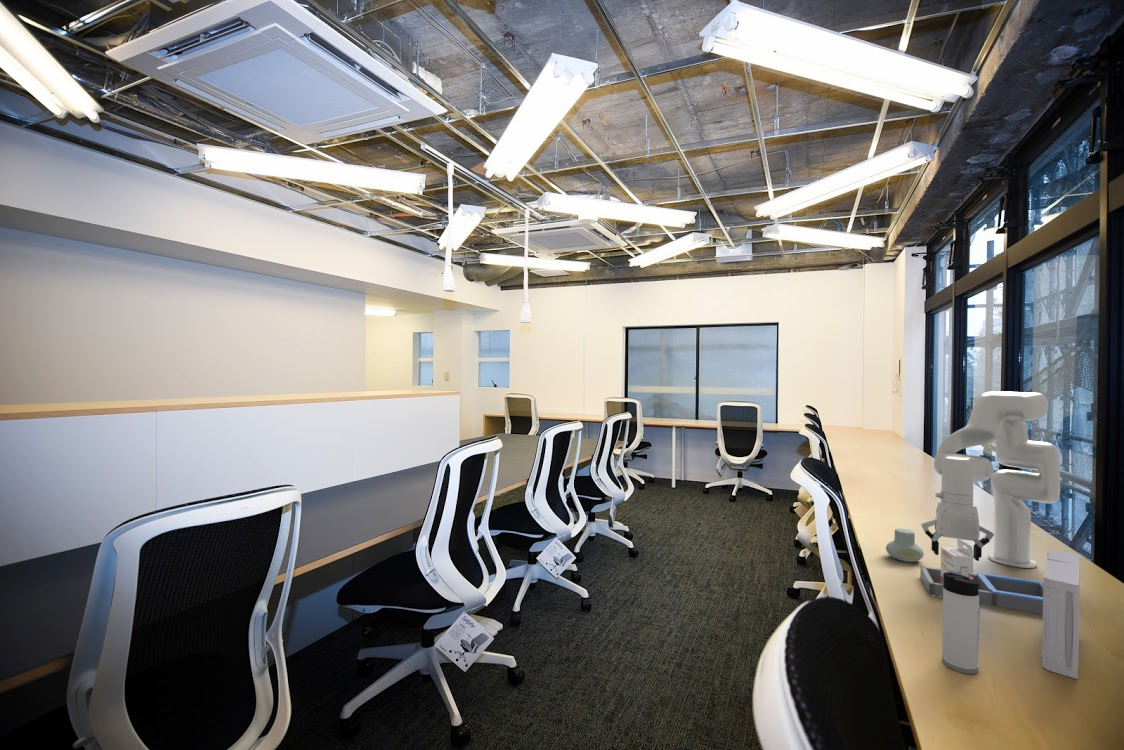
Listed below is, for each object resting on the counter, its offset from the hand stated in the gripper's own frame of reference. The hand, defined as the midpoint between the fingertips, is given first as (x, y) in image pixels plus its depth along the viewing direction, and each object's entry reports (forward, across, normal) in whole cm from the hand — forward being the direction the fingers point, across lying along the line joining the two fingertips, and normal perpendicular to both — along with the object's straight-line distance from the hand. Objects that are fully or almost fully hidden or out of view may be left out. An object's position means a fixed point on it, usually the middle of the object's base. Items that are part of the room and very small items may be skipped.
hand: (955, 556), depth 153 cm
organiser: (+10, +7, +1) cm, 13 cm away
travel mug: (+11, -9, -49) cm, 51 cm away
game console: (+11, +14, -30) cm, 35 cm away
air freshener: (+10, -10, +25) cm, 29 cm away
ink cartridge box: (+10, 0, +1) cm, 11 cm away
